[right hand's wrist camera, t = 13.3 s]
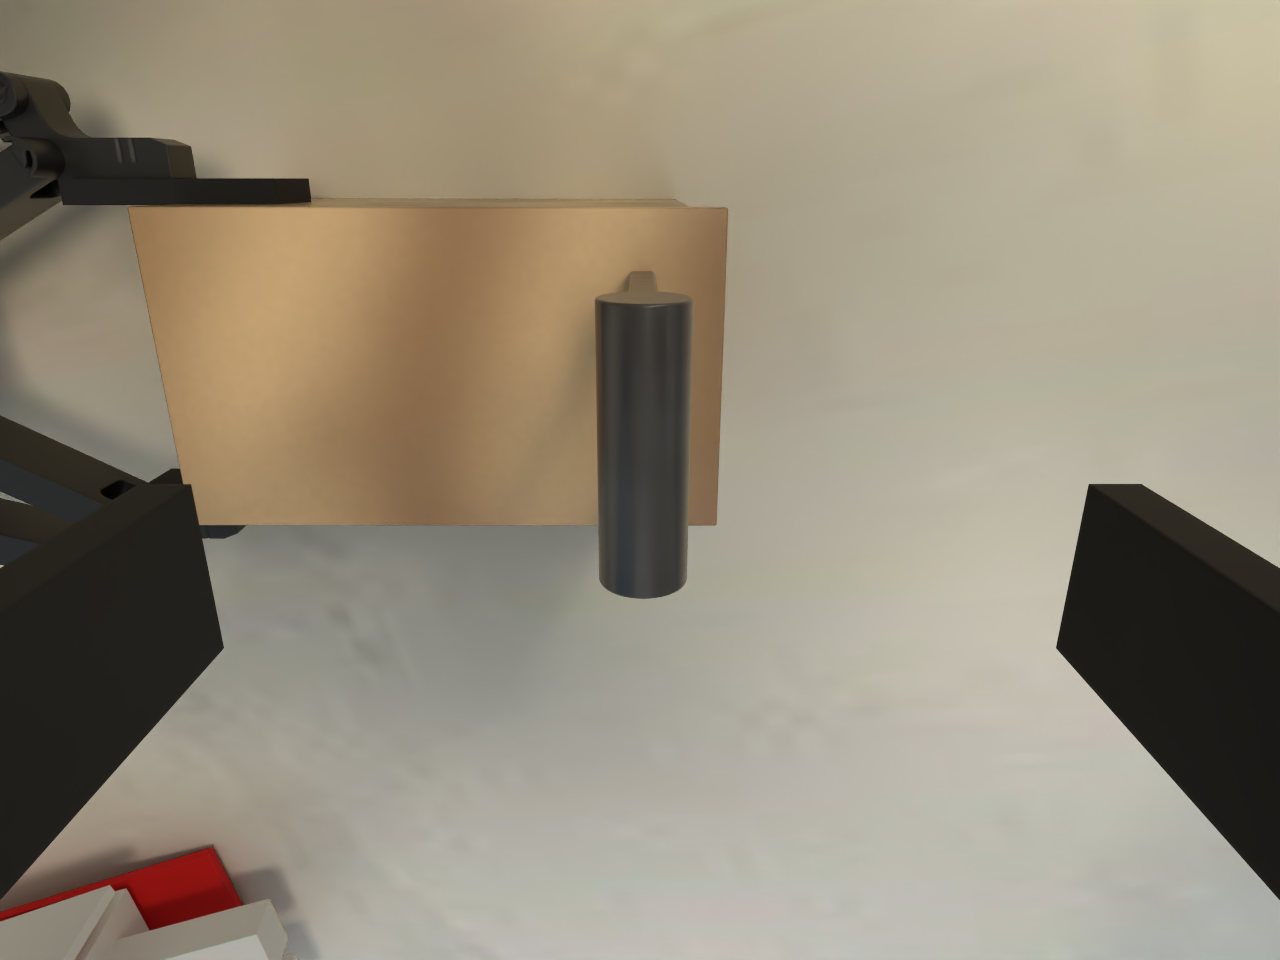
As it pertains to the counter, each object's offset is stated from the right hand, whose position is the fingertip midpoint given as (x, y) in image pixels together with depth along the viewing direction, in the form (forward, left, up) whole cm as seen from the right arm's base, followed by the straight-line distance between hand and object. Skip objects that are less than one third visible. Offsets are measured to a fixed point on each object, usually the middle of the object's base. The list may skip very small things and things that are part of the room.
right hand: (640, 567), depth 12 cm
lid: (+4, -5, -13) cm, 15 cm away
